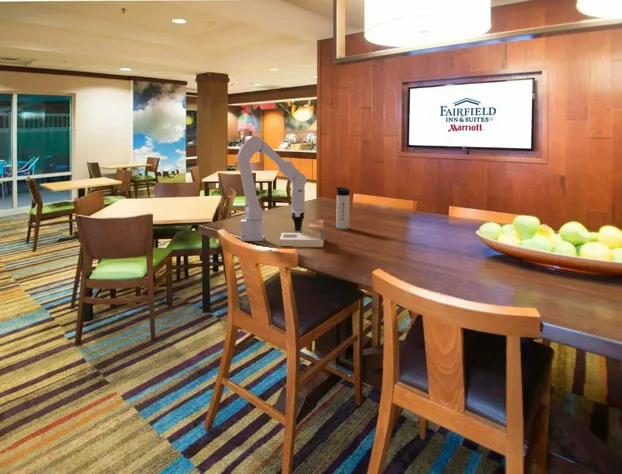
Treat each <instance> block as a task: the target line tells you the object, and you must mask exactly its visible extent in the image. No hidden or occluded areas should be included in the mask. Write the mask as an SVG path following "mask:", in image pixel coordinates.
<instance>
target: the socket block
mask: <svg viewBox="0 0 622 474" xmlns="http://www.w3.org/2000/svg"><path fill="white" fill-rule="evenodd" d="M324 227H325V226H324V220H321V219H319V220H318V219H317V220H311V219H309V222H308V230H319V232H303V233H294V232H281V233H280V237H279V247H280V246H293V248H294V247H295V248H296V247H299V248H301V247H306V248H307V247H308V248H310V247H311V248H314V247H315V248H324V229H325V228H324Z"/></svg>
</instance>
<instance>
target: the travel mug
mask: <svg viewBox="0 0 622 474" xmlns="http://www.w3.org/2000/svg"><path fill="white" fill-rule="evenodd" d="M350 192H351V190H350V188H346V187H340V186H338V187H336V206H335V209H336V210H335V211H336V213H335V216H336V217H335V220H336V221H335V230H338V231H339V230H340V231H347V230H349V229H350V201H351V200H350V199H351V196H350V195H351V194H350Z"/></svg>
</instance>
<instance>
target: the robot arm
mask: <svg viewBox="0 0 622 474" xmlns="http://www.w3.org/2000/svg"><path fill="white" fill-rule="evenodd" d="M256 153H262V154H264V155H266V156H267V157H268V158H269V159H270V160H271V161H272V162H273V163H275V164H276V165H277V168H278V171H279V172H280V173H281V174H283V176H285V177H286V178H287V179H288V180H289V182H290V183H291V212H292V215H291V219H292V221H293V226H294V225H295V230H296V231H300V230H301V225H302V221H303V222H304V219H305V214H306V213H305V212H308V209H307V208H306V207H305V195H306V194H305V192H306V190H305V186H306V184H307V182H308V181H307V177H306V175H305V174H303V173H302V172H301V171H300V169H299V168H296V166H295V165H293V161H291V160H288V159H285V160H284V159H283V158H282V157H281V156H280V155H279V154H278V153H277V152H276V151H275V150H274V149H273V148H272V146H270V145H269V144H268V142H266V141H264V140H262V138H260V137H259V136H258V135H248V136H245V137H244V138H243V140H242V141H241V142H240V147H239V150H238V153H237V155H236V161H237V165H238V170H239V175H240V178H241V184H242V189H243V193H244V198H245V199H244V202H245V203H244V204H245V206H244V213H245V214H246V216H245V218H244V219H241V220H240V227H239V228H240V241H241V240H242V242H263V241H264V238H265V235H264V234H263V215H264V210H263V208H262V207H261V205H260V201H259V199H258V197H257V190H256V185H255V181H254V176H253V171H252V166H251V162H250V161H251V159H252V158H253V157H254V155H255V154H256Z"/></svg>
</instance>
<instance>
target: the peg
mask: <svg viewBox="0 0 622 474" xmlns="http://www.w3.org/2000/svg"><path fill="white" fill-rule="evenodd" d="M303 223H304V220H303V221H302V225H301V230H300V231H296V230H295V225H294V224H293V233H304V232H303V230H304V229H303V228H304V227H303Z"/></svg>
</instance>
